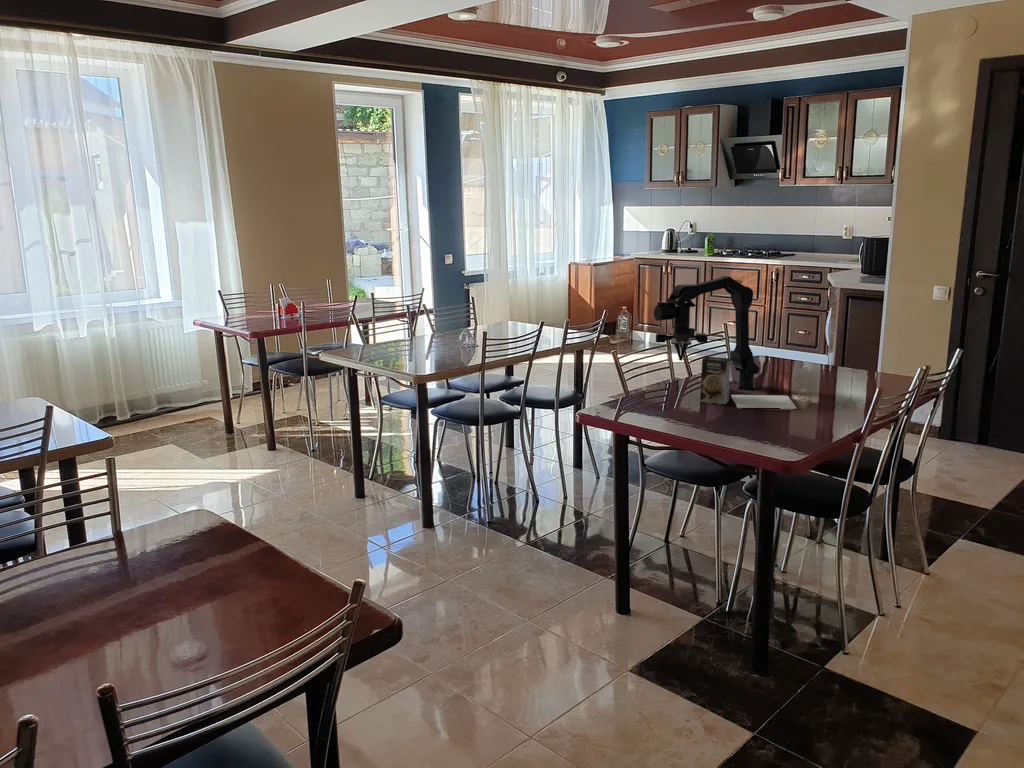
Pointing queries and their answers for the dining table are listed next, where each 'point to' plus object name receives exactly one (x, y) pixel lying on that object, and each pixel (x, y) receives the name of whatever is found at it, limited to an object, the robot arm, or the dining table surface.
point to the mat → (763, 401)
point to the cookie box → (715, 380)
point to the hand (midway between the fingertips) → (680, 360)
